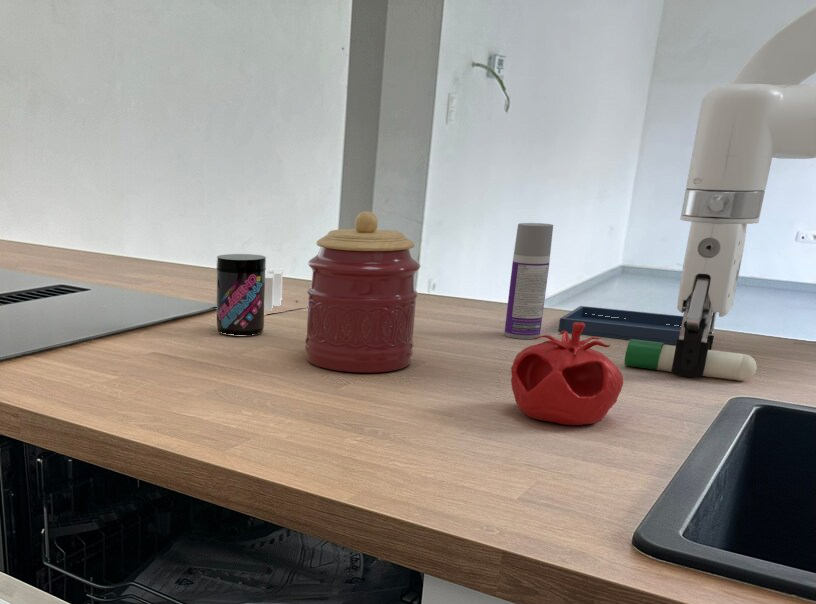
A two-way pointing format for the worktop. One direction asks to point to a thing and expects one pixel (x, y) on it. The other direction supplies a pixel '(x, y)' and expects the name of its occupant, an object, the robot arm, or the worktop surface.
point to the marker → (715, 366)
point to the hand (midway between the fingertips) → (689, 369)
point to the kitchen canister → (362, 299)
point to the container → (528, 280)
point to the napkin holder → (273, 288)
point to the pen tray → (624, 324)
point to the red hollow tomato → (565, 380)
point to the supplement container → (240, 293)
